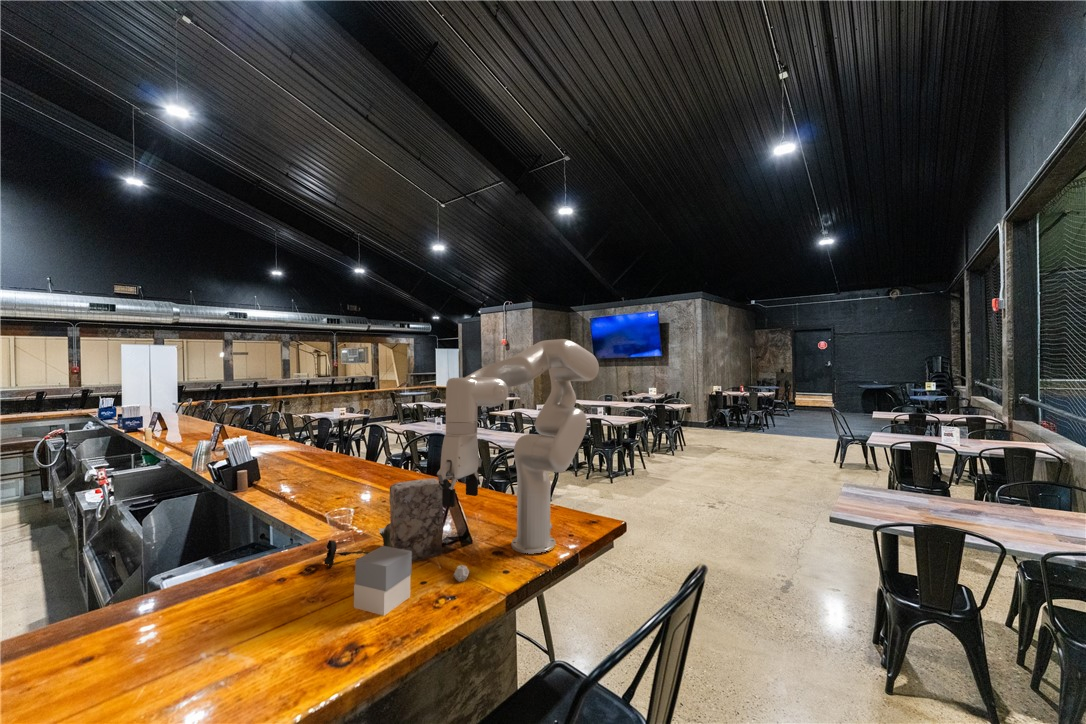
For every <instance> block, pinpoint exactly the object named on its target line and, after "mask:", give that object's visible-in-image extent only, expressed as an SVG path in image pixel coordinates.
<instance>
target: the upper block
mask: <svg viewBox="0 0 1086 724" xmlns="http://www.w3.org/2000/svg"><path fill="white" fill-rule="evenodd" d="M412 563H413V562H412V551H408V550H403V549H398V548H392V547H387V546H383V545H381V546H380V547H377V548H375V549H374V550H372V551H370V553H368V554H366V553H365V555H362V556H360V557H358V558H356V559H355V570H354V571H355V573H354V574H355V575H354V578H355V579H354V584H356V585H361V586H365V587H369V588H374V589H378V590H382V591H387V590H389V589H390V588H391V587H393V586H394V585H396V584H397V583H399V582H400V581H402V580H403V579H405V578H406V577H408V576H409V575H411V576H412Z"/></svg>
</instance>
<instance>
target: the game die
mask: <svg viewBox="0 0 1086 724" xmlns="http://www.w3.org/2000/svg"><path fill="white" fill-rule="evenodd" d="M469 574H470V570H469V568H468V567H467V566H466V565H465V564H461V565H457V567H456V568H455V570H454V573H453V577H454V578H455V580H456V581H457V582H458V583H460V582H465V581H466V580H467V579H468V576H469Z"/></svg>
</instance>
